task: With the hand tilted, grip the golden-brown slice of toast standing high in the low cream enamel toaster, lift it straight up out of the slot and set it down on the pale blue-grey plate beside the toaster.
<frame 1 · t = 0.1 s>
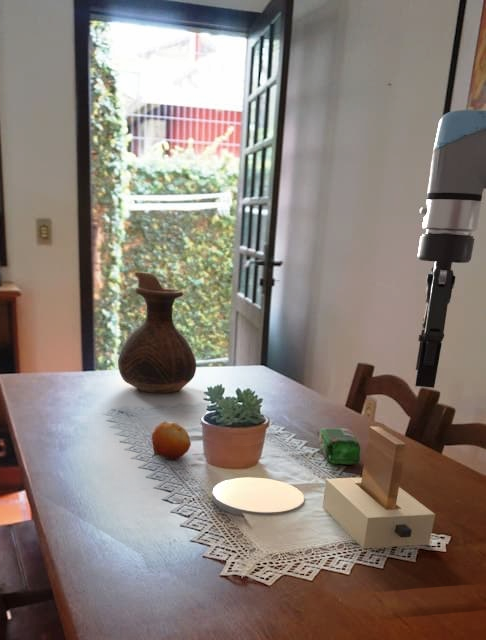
hand: (424, 378, 107), 24 cm above the table, tool pointing down, fingers open, 13 cm apart
plate: (257, 500, 120), on the table
fruit: (170, 457, 139), on the table
toaster: (372, 529, 110), on the table
toast: (373, 524, 110), point 1 cm above the table, touching toaster
snack package: (336, 457, 144), on the table
jug: (157, 388, 192), on the table
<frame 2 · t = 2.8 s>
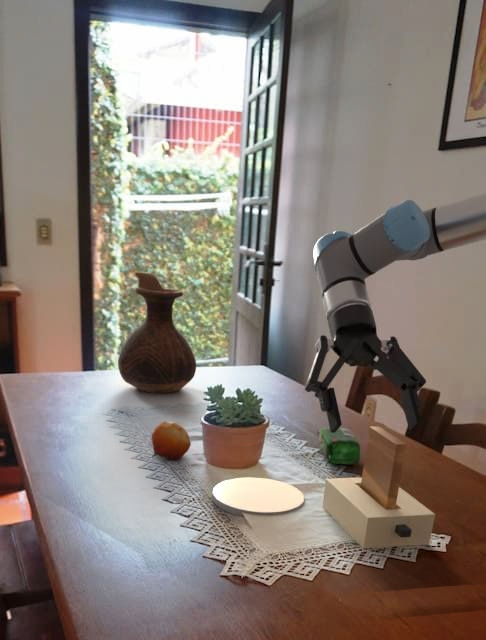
hand: (376, 428, 107), 16 cm above the table, tool tilted 45°, fingers open, 13 cm apart
nothing on the table moved.
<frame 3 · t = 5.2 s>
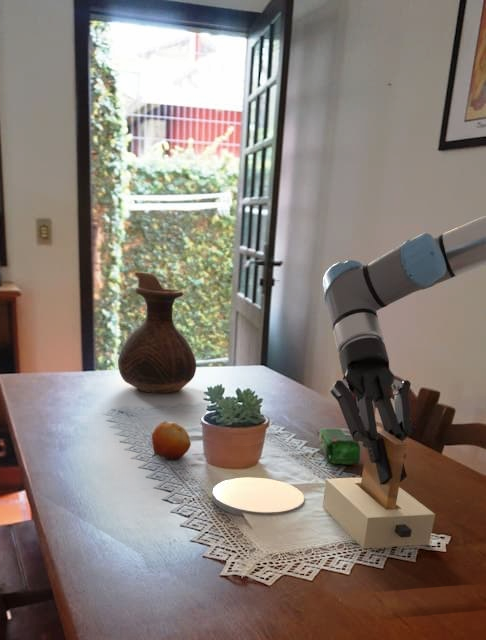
hand: (393, 480, 103), 10 cm above the table, tool tilted 45°, fingers closed on toast, 2 cm apart
toast: (373, 524, 110), point 1 cm above the table, touching gripper, toaster
everything else where it was.
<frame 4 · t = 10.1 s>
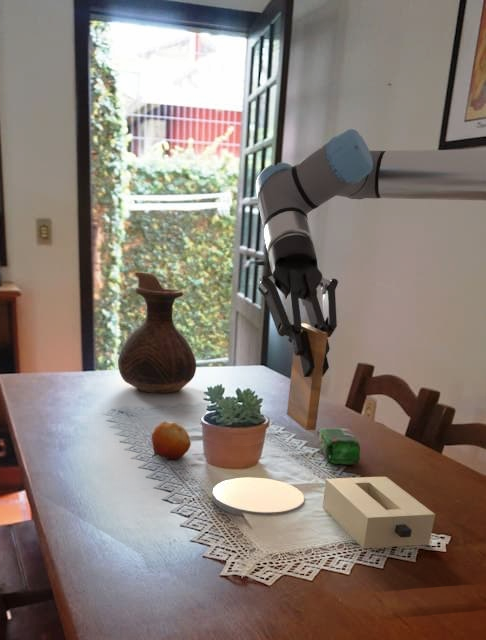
hand: (316, 371, 104), 24 cm above the table, tool tilted 45°, fingers closed on toast, 2 cm apart
toast: (300, 422, 111), point 15 cm above the table, touching gripper
everything else where it was.
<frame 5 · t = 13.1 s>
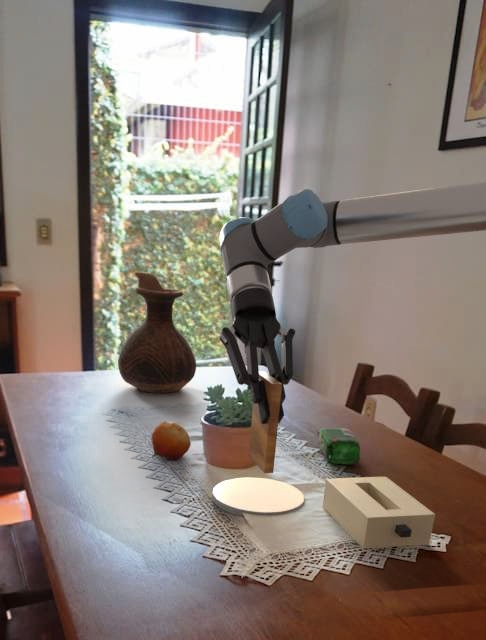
hand: (272, 419, 110), 16 cm above the table, tool tilted 45°, fingers closed on toast, 2 cm apart
toast: (260, 464, 117), point 7 cm above the table, touching gripper
everything else where it was.
when the fingers open (10 cm above the table, at t = 14.9 s): toast stays where it is, resting on plate.
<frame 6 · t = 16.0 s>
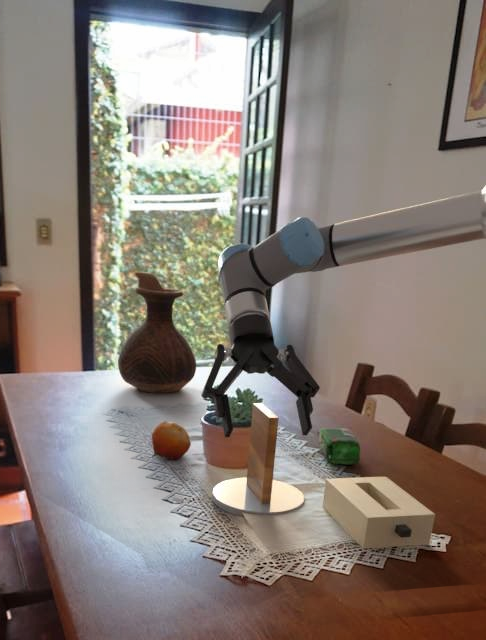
hand: (268, 432, 112), 13 cm above the table, tool tilted 45°, fingers open, 13 cm apart
toast: (258, 493, 119), point 1 cm above the table, touching plate
everything else where it was.
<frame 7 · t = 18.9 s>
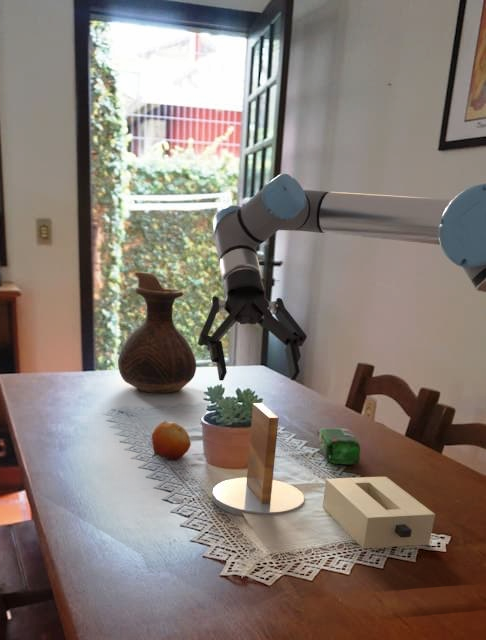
hand: (259, 376, 122), 19 cm above the table, tool tilted 45°, fingers open, 13 cm apart
nothing on the table moved.
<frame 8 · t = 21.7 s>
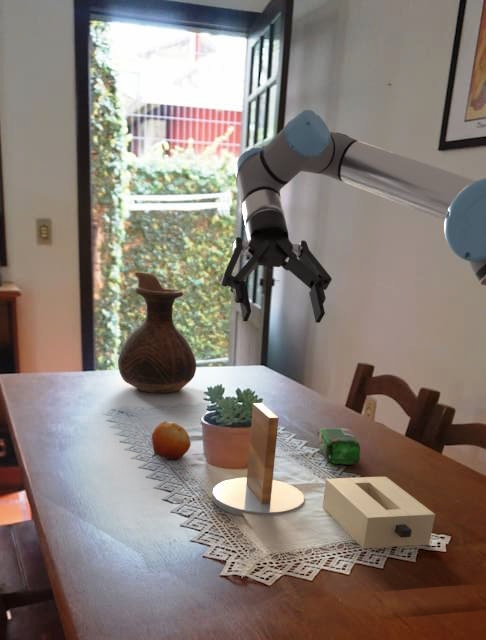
hand: (284, 317, 120), 30 cm above the table, tool tilted 45°, fingers open, 13 cm apart
nothing on the table moved.
at the end: toast 0.1 cm from the plate (horizontally); toast point 1.2 cm above the table; the gripper is holding nothing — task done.
